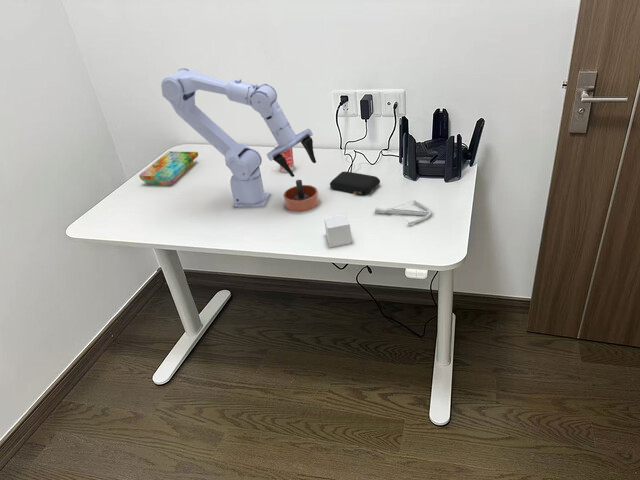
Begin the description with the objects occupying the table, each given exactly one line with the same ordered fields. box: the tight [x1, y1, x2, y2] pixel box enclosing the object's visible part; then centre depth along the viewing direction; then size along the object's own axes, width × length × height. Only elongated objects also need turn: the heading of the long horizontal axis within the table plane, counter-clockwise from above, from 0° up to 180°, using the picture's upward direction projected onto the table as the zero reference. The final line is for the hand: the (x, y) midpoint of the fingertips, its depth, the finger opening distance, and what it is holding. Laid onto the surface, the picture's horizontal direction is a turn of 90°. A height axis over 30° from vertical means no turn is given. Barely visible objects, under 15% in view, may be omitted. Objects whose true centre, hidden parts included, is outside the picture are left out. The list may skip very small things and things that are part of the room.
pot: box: [283, 184, 320, 213], centre depth 164 cm, size 10×10×4 cm
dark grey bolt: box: [294, 179, 308, 200], centre depth 163 cm, size 4×4×8 cm
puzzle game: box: [139, 150, 199, 186], centre depth 191 cm, size 12×5×20 cm
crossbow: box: [374, 199, 432, 226], centre depth 156 cm, size 16×13×2 cm
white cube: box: [323, 213, 353, 248], centre depth 146 cm, size 6×6×6 cm
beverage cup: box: [273, 142, 295, 173], centre depth 183 cm, size 6×6×14 cm
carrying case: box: [329, 171, 381, 196], centre depth 171 cm, size 11×3×15 cm
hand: (303, 169), depth 159 cm, fingers open, 7 cm apart
